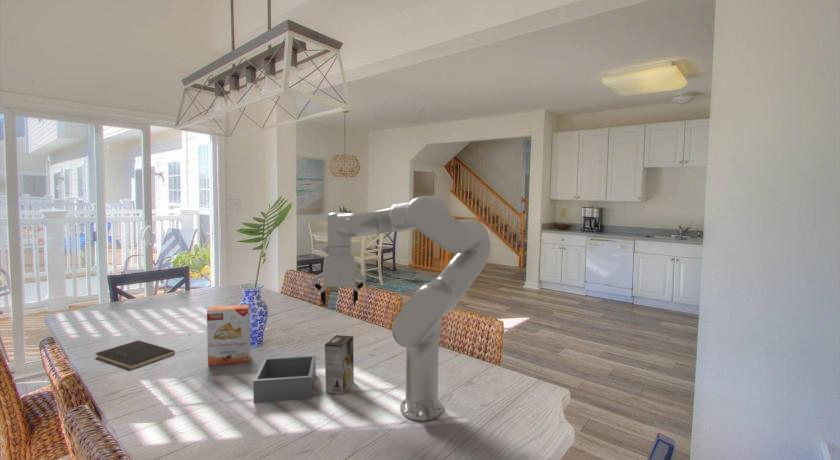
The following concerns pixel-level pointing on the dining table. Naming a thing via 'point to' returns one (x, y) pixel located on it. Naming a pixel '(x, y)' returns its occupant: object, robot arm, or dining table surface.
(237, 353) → the cracker box
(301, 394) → the bin
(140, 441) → the dining table surface
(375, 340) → the dining table surface
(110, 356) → the hardcover book
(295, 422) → the dining table surface
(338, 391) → the coffee box
